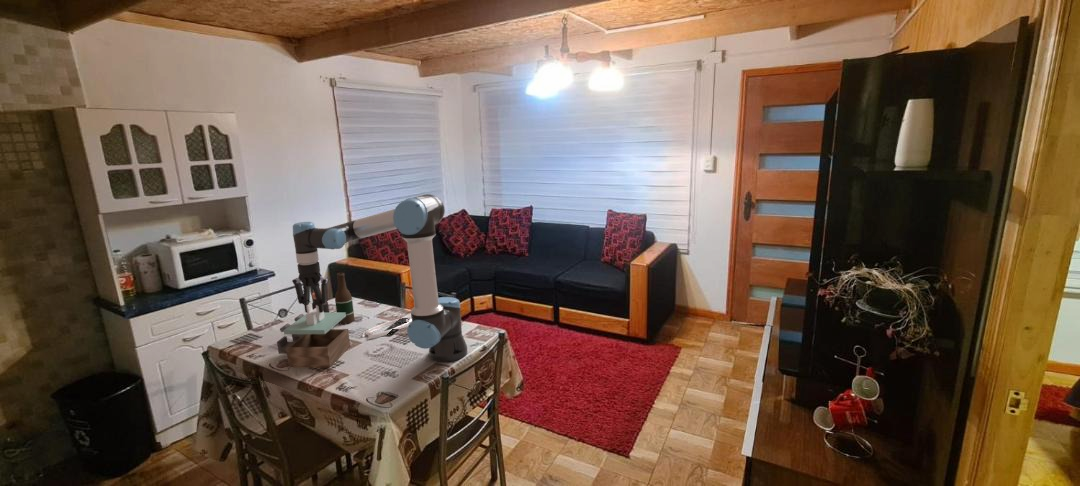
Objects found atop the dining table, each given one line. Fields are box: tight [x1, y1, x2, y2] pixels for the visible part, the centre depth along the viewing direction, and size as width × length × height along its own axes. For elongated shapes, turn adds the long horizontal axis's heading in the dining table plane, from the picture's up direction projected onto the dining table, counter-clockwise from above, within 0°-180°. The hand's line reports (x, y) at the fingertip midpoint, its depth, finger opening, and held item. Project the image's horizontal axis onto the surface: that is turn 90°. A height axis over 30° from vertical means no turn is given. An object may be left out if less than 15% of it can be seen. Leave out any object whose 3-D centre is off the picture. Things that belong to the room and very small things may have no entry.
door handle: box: [361, 315, 412, 341], centre depth 214 cm, size 3×10×25 cm
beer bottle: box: [334, 272, 355, 325], centre depth 221 cm, size 8×8×24 cm
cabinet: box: [276, 328, 351, 369], centre depth 187 cm, size 20×18×10 cm
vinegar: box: [311, 292, 330, 313], centre depth 206 cm, size 7×7×20 cm
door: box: [279, 308, 346, 335], centre depth 185 cm, size 18×18×6 cm
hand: (315, 319), depth 185 cm, fingers closed on door, 3 cm apart
